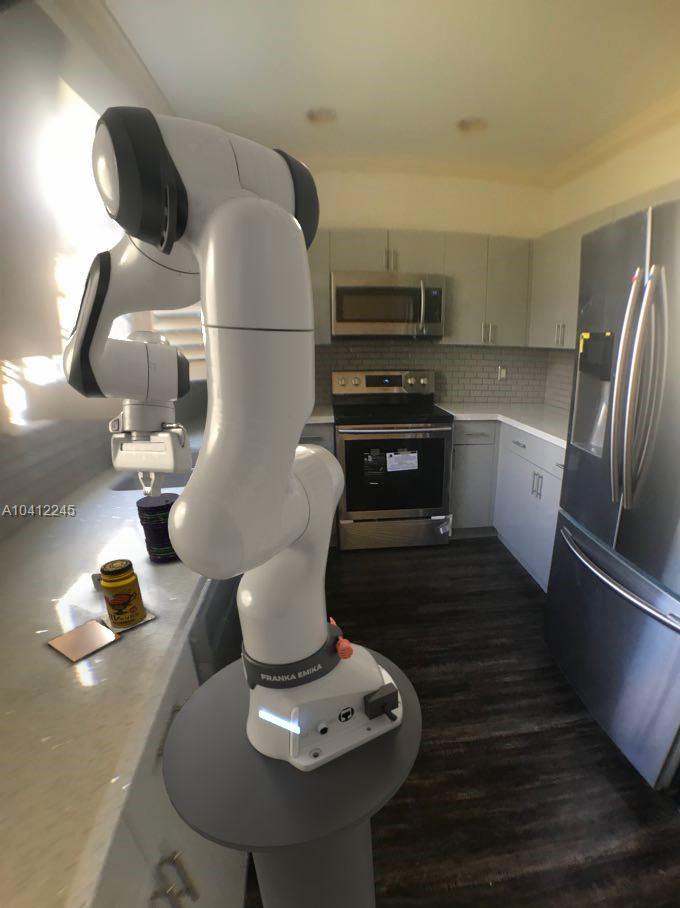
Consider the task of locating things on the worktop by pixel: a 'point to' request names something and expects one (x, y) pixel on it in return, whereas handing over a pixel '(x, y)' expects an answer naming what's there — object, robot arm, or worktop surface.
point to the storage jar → (157, 527)
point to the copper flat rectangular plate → (84, 640)
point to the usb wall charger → (97, 578)
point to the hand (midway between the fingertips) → (152, 496)
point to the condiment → (122, 596)
